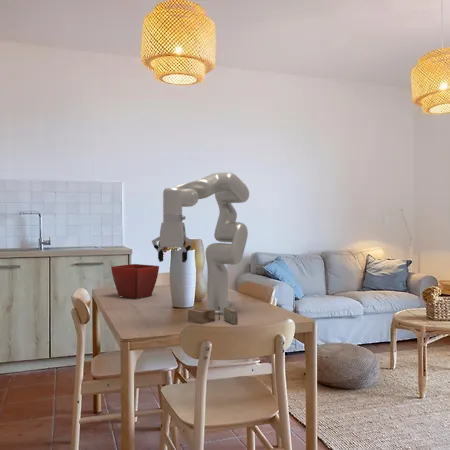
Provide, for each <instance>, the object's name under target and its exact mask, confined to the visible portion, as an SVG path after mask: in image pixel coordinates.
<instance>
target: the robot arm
mask: <svg viewBox="0 0 450 450" xmlns="http://www.w3.org/2000/svg"><path fill="white" fill-rule="evenodd" d="M162 193H163V194H162V195H163V196H162V199H163V201H162V208H163V209H162V214H163V215H162V216H163V217H162V219H163V220H162V222H161V224H160V231H159V236H158V237H156V238H154V239H152V240H151V243H152V245H153V248H154V249H155V250H156V251H157V259H158V261H159V263H161V262H163V261H164V251H163V250H164V249H165V248H180V249H181V250H182V252H181V262H182V263H186V262H187V260H188V252H189V250H191V249H192V246H193V245H194V243H195V241H194V240H193V239H190V238H189V237H187V233H186V232H187V231H186V226H185V225H186V224H185V222H183V220H186V215H183V208H185V207H186V208H189V207H194V206H195V205H196V204H197V203H198V202H199V200H202V199H207V198H209V197H211V196H212V195H214V198H215V201H216V203H217V206H218V210H219V213H218V217H217V222H216V225H215V228H214V239H215V241H217V242H214V243H211V244H209V245H207V247H206V248H205V251H204V252H205V254H204V255H205V259H206V266H207V267H206V269H207V298H206V299H207V301H206V303H207V306H206V308H208V309H213V310H215V315H216V314H217V315H218V307H220V315H221V314H222V315H224V307H229V308H230V306H235V301H233V300H232V301H230V300H229V273H228V272H229V271H228V269H227V267H226V265H231V266H232V265H238V264H240V263H241V261H242V260H243V257H244V252H245V249H246V244H247V241H248V236H249V234H248V231H249V230H248V227H247V225H246V224H245V223H243V222H241V221H240V222H238V221H237V217H238V214H237V213H238V212H237V211H236V208H235V207H234V206H233V204H241V203H245V202H247V201H248V200H249V198H250V191H249V188H248V186H247V185H246V184H245V183H244V181H243V180H242V179H240V177H238V176H237V174H235V173H233V172H215V173H211V174H209V175H207V176H204V177H202V178H200V179H198V180H197V179H196V180H193V181H189V182H186V183H183V184H178V185H176V186H174V187H167V188H164V189H163V192H162ZM157 242H159V243H157ZM187 243H188V245H187ZM158 244H159V245H158ZM186 245H187V246H186Z"/></svg>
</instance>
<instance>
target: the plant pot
mask: <svg viewBox="0 0 450 450" xmlns="http://www.w3.org/2000/svg"><path fill="white" fill-rule="evenodd" d="M159 269H160V265H151V264H140V263H139V264H138V263H132V264H123V265H122V264H121V265H115V266H111V275H112V279H113V282H114V285H115V289H116V291H117V295H118V297H119V296H122V297H121V298H125V297H129V298H128V299H132V298H138V299H142V298H141V297H143V298H147V297H146V296H148V297H151V296H152V294H153V293H154V292H153V291H154V289H155V286H156V283H157V279H158V274H159V272H160V271H159Z"/></svg>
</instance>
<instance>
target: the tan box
mask: <svg viewBox="0 0 450 450" xmlns="http://www.w3.org/2000/svg"><path fill="white" fill-rule="evenodd" d="M215 321H216V314H215V310H213V309H208V308H207V307H202V306H201V307H195V308H189V309H187V322H189V323H194V324H198V323H199V324H198V325H204V324H208V323H213V322H215Z"/></svg>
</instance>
